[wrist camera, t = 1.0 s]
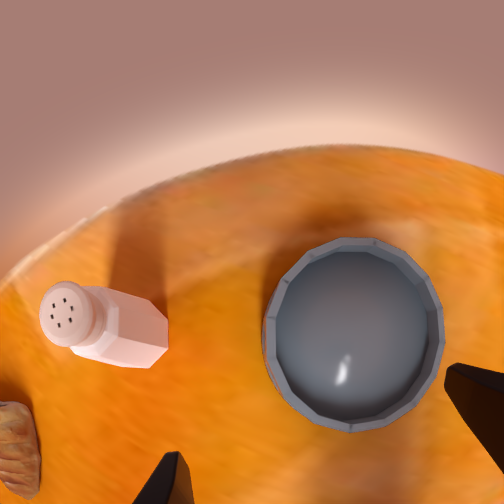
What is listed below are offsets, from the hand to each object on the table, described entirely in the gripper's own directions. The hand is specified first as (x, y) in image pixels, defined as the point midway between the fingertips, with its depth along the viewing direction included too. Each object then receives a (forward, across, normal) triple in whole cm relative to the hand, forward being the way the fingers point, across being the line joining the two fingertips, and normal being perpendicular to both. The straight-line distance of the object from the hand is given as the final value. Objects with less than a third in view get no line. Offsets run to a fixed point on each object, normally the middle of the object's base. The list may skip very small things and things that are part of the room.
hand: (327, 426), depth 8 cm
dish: (+13, -6, +6) cm, 15 cm away
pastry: (+10, +24, +9) cm, 27 cm away
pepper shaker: (+14, +9, +2) cm, 17 cm away
